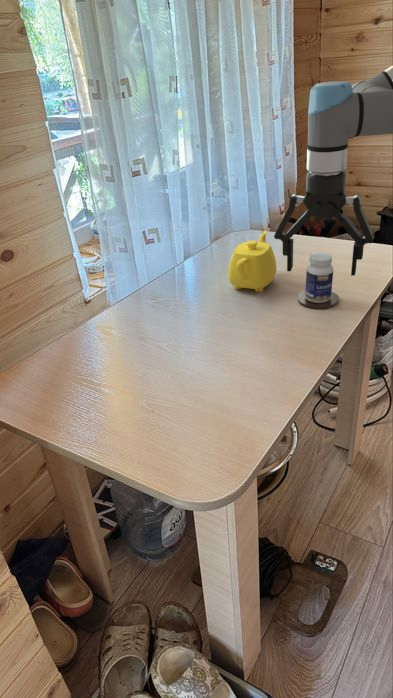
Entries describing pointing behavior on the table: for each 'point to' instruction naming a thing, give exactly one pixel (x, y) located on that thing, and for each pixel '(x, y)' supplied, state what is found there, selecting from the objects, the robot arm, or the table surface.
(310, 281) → the pill bottle
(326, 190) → the robot arm
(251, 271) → the teapot
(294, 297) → the table surface
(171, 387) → the table surface
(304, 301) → the coaster
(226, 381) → the table surface
